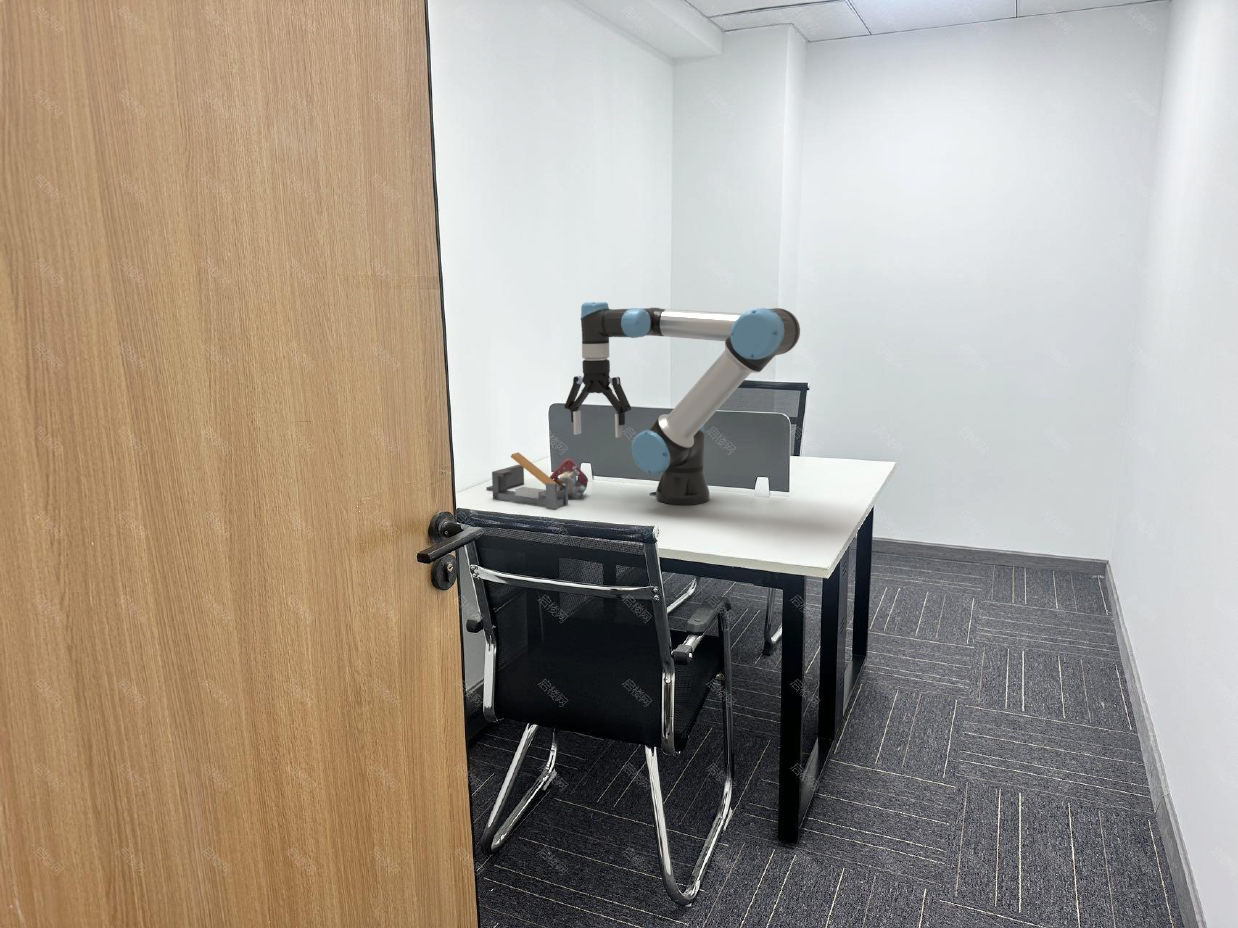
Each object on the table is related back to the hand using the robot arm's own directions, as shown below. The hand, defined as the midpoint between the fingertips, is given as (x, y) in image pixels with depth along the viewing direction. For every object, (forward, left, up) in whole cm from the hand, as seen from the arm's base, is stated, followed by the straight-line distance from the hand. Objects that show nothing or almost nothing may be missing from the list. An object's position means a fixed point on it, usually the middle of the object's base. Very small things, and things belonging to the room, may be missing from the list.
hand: (598, 435), depth 235 cm
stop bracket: (+33, 0, -19) cm, 38 cm away
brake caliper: (+10, 0, -19) cm, 21 cm away
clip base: (+16, +12, -19) cm, 27 cm away
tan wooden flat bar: (+13, +12, -10) cm, 21 cm away
